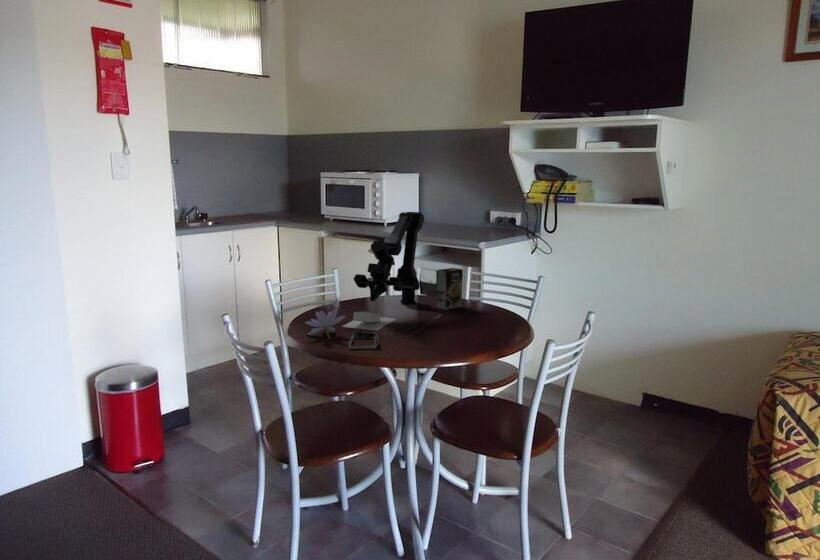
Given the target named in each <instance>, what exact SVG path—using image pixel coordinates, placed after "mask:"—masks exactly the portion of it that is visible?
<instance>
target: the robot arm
mask: <svg viewBox="0 0 820 560" xmlns="http://www.w3.org/2000/svg"><path fill="white" fill-rule="evenodd" d="M424 222H425V215H424V214H423V213H422V212H420V211H405V212H404V211H403V212H400V213H399V215H398V219H397V222H396V223H395V225H394V227H393V229H392V231H391V234H390V235H389V236H386V237H385V238H384V237H383V238H382V237H379V238H378V239H377V240H375V241H373V242H372V243H371V244H370V250H371V251H372V254H373V256H374V258H375V260H378V261H377V263H372V262H371V263H368V267H367V273H369V276H370V277H367V275H366V274H360V273H357V274H355V275H354V277H353V281H354V283H355V284H356V287H358V288H360V289H366V288H369V295H370V298H369V299H370V302H372V303H373V302H375V301H376V300H377V299H378V298H379V297H380V296H381V295H383V294H384V293H386V292H388V287H392V289H393V291H395V292H401V299H399V301H400V303H401V305H415V304H417V300H416V291H417V290H420V287H421V286H420V285H421V283H420V282H419V279H418V276H417V274H418V272H417V270H416V268H415V259H416V250H417V249H416V248H417V243H418V242H417V241H418V234H419V232H420V231H421V230H422V228H423V223H424ZM404 236H405V244H404V250H403V260H402V265H401V266H400V267H398V269H397V274H396V277H395V276H392V275H391V270H392V267H393V266H395V265H396V264H395V259H394V257H393V256H399V255H400V254H401V252H402V248H403V246H402V240H403V238H404ZM388 278H389V279H388Z"/></svg>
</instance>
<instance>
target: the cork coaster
mask: <svg viewBox="0 0 820 560" xmlns="http://www.w3.org/2000/svg"><path fill="white" fill-rule="evenodd" d="M436 318H437V319H439V318H442V315H441V314H440V313H438V314H437V315H436V316H434V317H433V318H432V319H433V320H436Z"/></svg>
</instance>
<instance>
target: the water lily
mask: <svg viewBox="0 0 820 560" xmlns="http://www.w3.org/2000/svg"><path fill="white" fill-rule="evenodd" d="M338 309H339V308H338V307H336V308H334V309H333V310H332V311H329V312H328V313H325V312H324V311H323V310H319V311H315V317H316V318H311V319H310V321H309V320H307V321H304V324H306V325H308V326H311V327H315V328H312V329H311V330H310V331H309V332H307V334H306V336H307V335H310V336H313V335H317V334H318V333H320V332H322V331H324V330H325V332H326V335H327V338H328V340H331V337H330V333H335V331H336V328H335V327H333V326H335V325H336V324H337V325H338V324H339V323H340V322H341V321H342V320H344V319H345V318H346V315H340V316H338V317H337V316H336V315H337V313H338V311H339V310H338ZM326 314H327V315H326Z"/></svg>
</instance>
